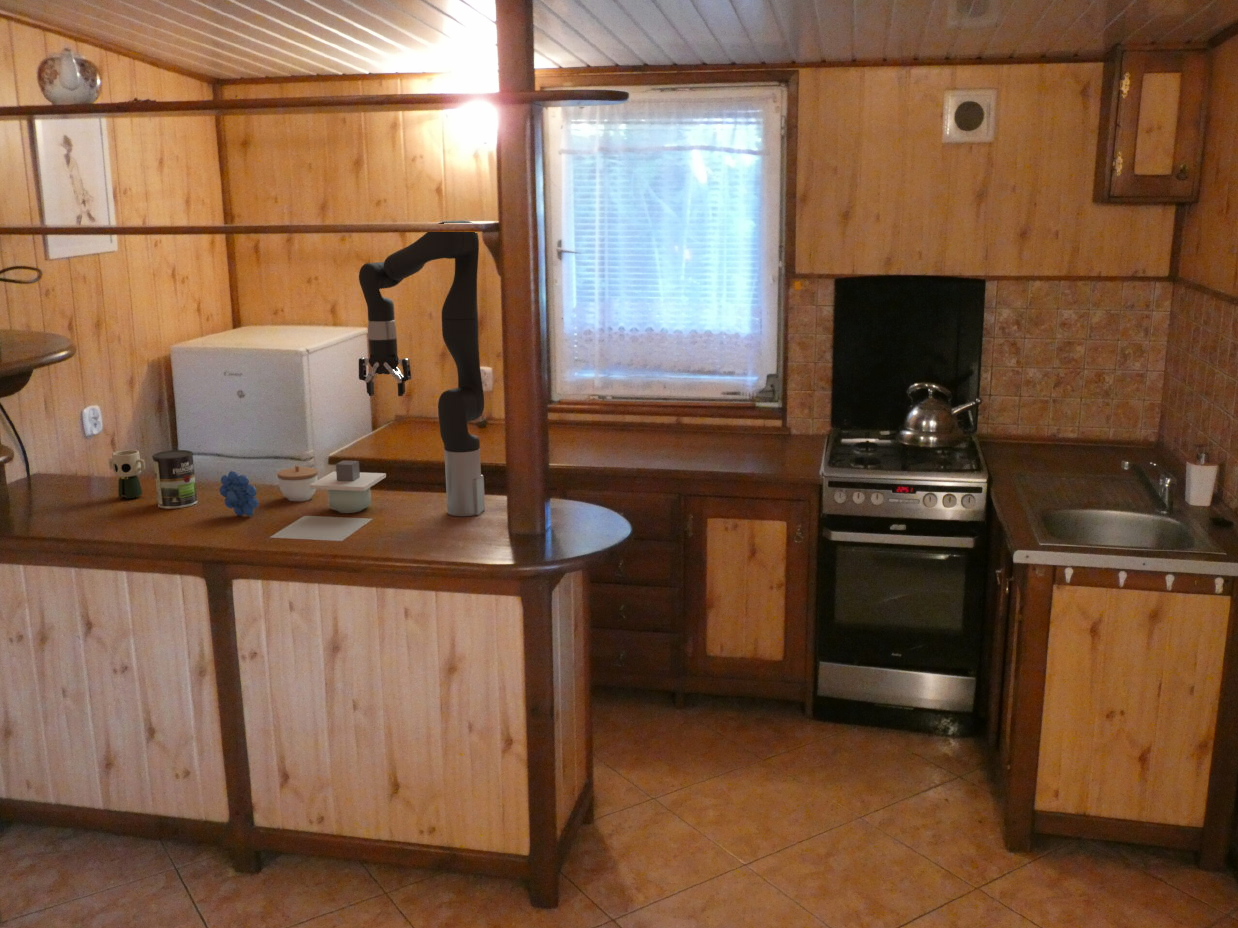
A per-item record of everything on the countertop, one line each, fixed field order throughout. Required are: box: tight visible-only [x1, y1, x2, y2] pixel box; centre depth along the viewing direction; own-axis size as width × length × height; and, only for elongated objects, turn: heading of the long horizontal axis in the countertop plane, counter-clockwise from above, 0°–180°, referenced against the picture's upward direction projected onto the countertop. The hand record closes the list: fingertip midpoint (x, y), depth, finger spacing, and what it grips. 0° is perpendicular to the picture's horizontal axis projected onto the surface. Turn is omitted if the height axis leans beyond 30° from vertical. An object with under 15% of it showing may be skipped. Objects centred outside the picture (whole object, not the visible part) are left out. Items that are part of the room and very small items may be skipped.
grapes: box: [219, 470, 259, 517], centre depth 293 cm, size 12×7×12 cm, turn 70°
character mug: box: [108, 449, 146, 500], centre depth 312 cm, size 11×7×13 cm, turn 79°
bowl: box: [327, 487, 372, 514], centre depth 298 cm, size 11×11×8 cm
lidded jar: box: [276, 465, 319, 502], centre depth 310 cm, size 11×11×9 cm
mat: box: [269, 515, 373, 542], centre depth 282 cm, size 19×19×1 cm
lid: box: [310, 459, 387, 491], centre depth 296 cm, size 15×15×6 cm
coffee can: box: [151, 449, 199, 510], centre depth 305 cm, size 10×10×14 cm
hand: (386, 395), depth 307 cm, fingers open, 8 cm apart
